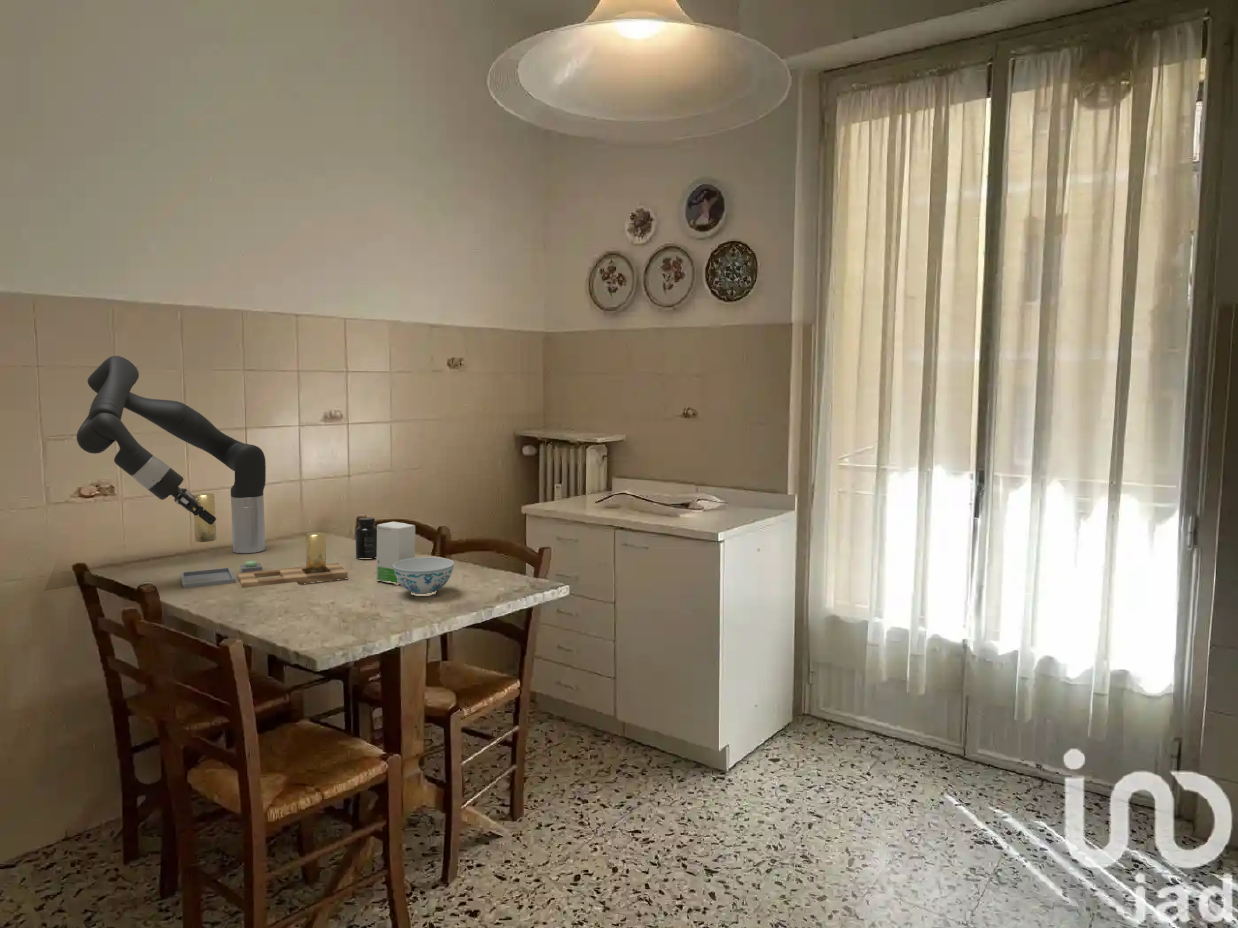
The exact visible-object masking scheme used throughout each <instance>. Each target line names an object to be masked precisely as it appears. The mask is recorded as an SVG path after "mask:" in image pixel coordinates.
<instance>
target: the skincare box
mask: <svg viewBox="0 0 1238 928" xmlns="http://www.w3.org/2000/svg"><path fill="white" fill-rule="evenodd" d="M376 527H377V558H376V573H375V574H376V576H375V577H376V580H379V581H391V582H396V583H400V582H399V581H398V579H397V577H396V575H395V572H394V568H393V564H394V563H396V562H398V561H401V560H404V559H410V558H416V557H415V556H416V555H415V553H416V525H415V524H409V523H405V522H398V521H390V522H383V523H379V524H376ZM376 580H375V581H376Z"/></svg>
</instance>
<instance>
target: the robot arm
mask: <svg viewBox="0 0 1238 928" xmlns="http://www.w3.org/2000/svg"><path fill="white" fill-rule="evenodd" d="M139 375H140V373H139V370H138V368H137V366H135V364H134V363H132V362H131V361H130V360H129V359H127V358H125V357H123V356H120V355H112V356H109V357H108V358H106V359H105V360H104V361H103V362H102V363H101V364H99V366H98V367H96V369H95V370H94V371H93V372H92V373H91V374H90V375H89V376H88V378H87V385H88V386H89V388H91V390H92V391H93V392H95V393H96V395H95V397H94V398H93V401H92V402H91V405H90V408H89V412H88V415H87V416H86V419H85V420H84V421H83V422H82V423H81V425H80V427H79V428H78V430H77V433H76V441H77V444H78V446H79V447H80V449H81V450H83V451H85V452H87V453H88V454H101V453H103V452H104V451H106V450H107V449H108V448H109V447H110V446H112V444H114V443H115V442H116V443H117V445H118V446H119V450H118V451H117V453H116V455H115V456H114V458H113V460H114V461H113V462H114V464H116V465H117V466H118V467H119V468H120V469H122V471H124V472H125V473H127V474H128V475H130V476H131V477H132V478H133V479H134V480H135V481H136V482H137V483H138V484H140V485H141V486H142V487H143V488H145V489H146V490H148V491H149V492H150V493H151V494H153V495H154V496H155V497H156V498H158V499H159V500H163V501H164V500H166V499H167V498H168V497H169V496H172V497H173V498H174V499H173V500H174V502H175V503H176V504H177V505H179V506H181V507H182V508H184V509H185V510H186V511H187V512H190V513H192V514H193V516H194V515H196V516H199V517H200V518H202V519H203V520H204V521H206V522H207V523H208V524H210V525H211V524H213V523H214V522H217V521H216V520H217V517H216V516H215V517H214V516H213V515H212V514H210V513H209V512H208V511H206V510H205V509H204V507H202V506H201V505H200V504H199V501H198V500H197V499H195V498H194V497H193V495H194V494H192V493H191V491H190V490H189V489H188V488H184V487H183V488H181V487H180V486H181V484H182V483H183V481H184V476H182V475H180V473H178V472H176V471H175V470H174V469H173V468H172V467H171V466H169V465H168V464H166V463H165V462H164V461H163V460H161V459H160V458H158V457H156V456H155V455H153V454H152V453H151V452H149V451H148V450H147V449H146V448H144V447H143V446H142V445H141V444H140V443H139V442H138V441H137V440H136V438H135V437H134V436H133V435H132V434H131V432H130V431H129V430H128V428H127V427H126V425H125V424H124V422H123V421H121V420H122V417H123V416H122V415H123V412H124V409H126V410H128V411H130V412H133V414H134V413H135V414H137V415H139V417H142V418H144V419H145V420H147V421H149V422H151V423H152V424H154V425H155V426H158V427H159V428H160V429H162V430H164V431H166V432H168V433H169V434H171V435H172V436H174V437H176V438H177V439H179V440H182V441H184V442H185V443H187V444H189V445H191V446H193V447H195V448H198V449H200V450H202V451H205V452H206V453H207V454H209V455H211V456H212V457H214V458H215V459H217V460H218V461H220V462H221V463H222V464H223V465H225V466H226V467H227V468H228V469H230V470H232V471H233V472H234V483H233V485H232V486H231V488H230V507H231V531H232V552H233V553H235V554H236V553H237V554H253V553H259V552H263V551H265V550H266V530H265V529H266V527H265V526H266V524H265V501H264V497H265V496H264V490H265V486H266V482H267V481H266V480H267V479H266V472H267V471H266V469H267V467H266V465H267V464H266V456H265V453H264V451H263V450H262V448H261V447H259V446H257V445H255V444H249V443H245V442H241V441H239V440H237V439H235V438H233V437H230V436H229V435H227V434H225V433H223V432H222V431H221V430H219V429H218V428H217V427H216V426H215V425H214V424H213V423H212V422H211V421H210V420H208V419H207V417H205V416H204V415H203V414H201V413H200V412H199V411H196V410H195V409H193V408H192V407H191V406H188V405H187V404H185V403H183V402H181V401H177V400H170V399H159V398H148V397H143V396H140V395H138V394H136V393H134V392H131V390H132V388H133V386H134V385H135V384H136V383H137V381H138V379H139ZM195 506H197V507H198V508H197V509H196V510H195V511H194V510H193V508H194V507H195Z"/></svg>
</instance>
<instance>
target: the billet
mask: <svg viewBox="0 0 1238 928" xmlns="http://www.w3.org/2000/svg"><path fill="white" fill-rule="evenodd" d="M192 495H193V497H194V498H195V499H197V500H198V501H199V504H200V505H201V506H202V507H204V509H205V510H206V511H208V512H209V513H210V514H212V515H213V516H214V517H215V518H216V509H215V508H216V506H215V504H216V502H215V494H214V493H212V492H211V493H208V492H205V493H203V492H202V493H195V494H192ZM197 508H198V507H197V506H195V507H194V508H193V510H194V511H195V510H196V509H197ZM216 522H217V521H215V522H214V523H213V524H211V525H210V524H208V523H207V522H206V521H204V520H203V519H202V518H200V517H199V516H196V515H194V514H193V525H194V526H193V527H194V528H193V529H194V531H193V532H194V542H198V543H207V542H213V541H216V540H217V528H216V527H217V526H216V524H217V523H216Z"/></svg>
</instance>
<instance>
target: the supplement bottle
mask: <svg viewBox="0 0 1238 928" xmlns="http://www.w3.org/2000/svg"><path fill="white" fill-rule="evenodd" d="M357 520H358V522H357V525H358V527H356V529H355V531H354V534H355V538H354V539H355V557H356V559H357V558H375V557H377V525H376V519H375V517H374V516H373V517H370V516H369V517H367V516H365V517H359V518H358V519H357ZM375 525H376V526H375ZM375 559H376V558H375Z"/></svg>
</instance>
